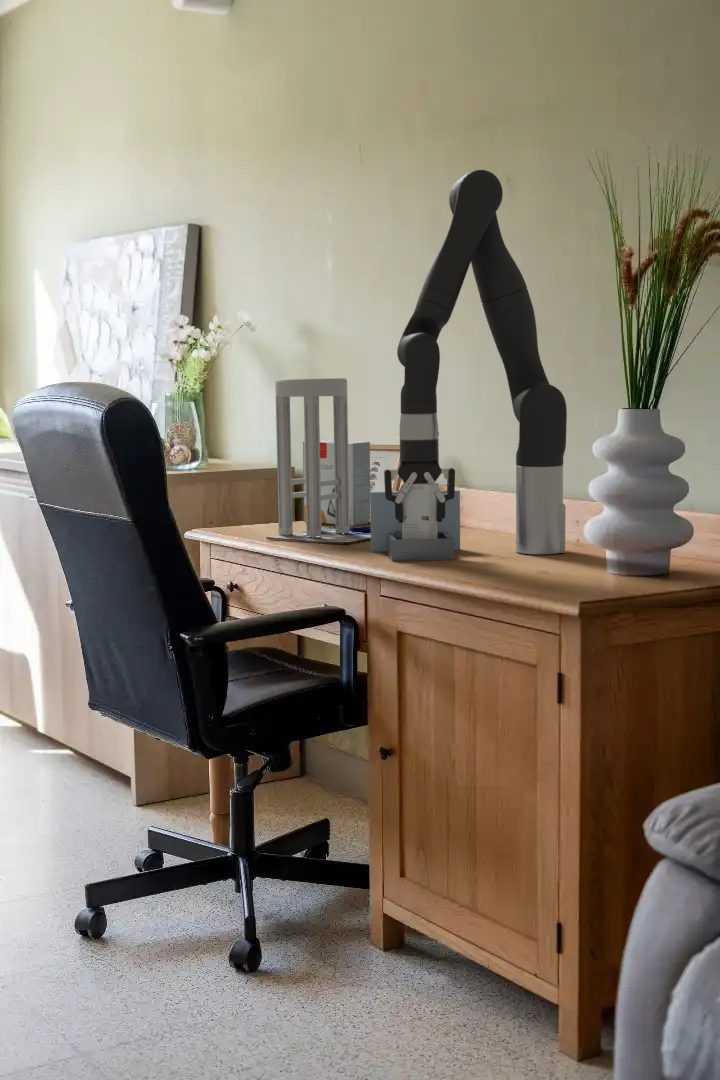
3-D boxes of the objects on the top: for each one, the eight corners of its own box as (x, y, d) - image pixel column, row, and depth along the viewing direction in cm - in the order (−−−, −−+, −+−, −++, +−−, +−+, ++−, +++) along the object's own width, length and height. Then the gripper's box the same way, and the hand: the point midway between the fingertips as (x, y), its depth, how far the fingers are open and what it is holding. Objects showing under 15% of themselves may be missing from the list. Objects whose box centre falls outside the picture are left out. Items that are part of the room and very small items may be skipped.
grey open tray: (445, 550, 264) (445, 529, 263) (454, 559, 249) (454, 537, 249) (386, 551, 263) (386, 530, 262) (391, 561, 249) (391, 539, 248)
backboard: (459, 548, 265) (458, 490, 264) (460, 549, 264) (459, 490, 262) (371, 550, 264) (370, 491, 263) (371, 551, 263) (370, 492, 261)
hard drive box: (302, 522, 319) (300, 441, 316) (322, 519, 325) (320, 439, 322) (353, 526, 309) (351, 442, 307) (372, 523, 315) (371, 440, 313)
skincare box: (401, 545, 254) (400, 483, 253) (411, 542, 258) (410, 481, 257) (429, 546, 251) (428, 484, 250) (439, 544, 255) (438, 482, 254)
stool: (362, 533, 295) (360, 377, 291) (313, 539, 284) (310, 378, 280) (314, 528, 306) (311, 378, 301) (265, 534, 294) (262, 379, 290)
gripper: (453, 435, 256) (454, 519, 258) (380, 437, 256) (382, 520, 258) (458, 437, 249) (459, 523, 251) (383, 438, 248) (384, 524, 250)
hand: (420, 521), depth 254 cm, fingers closed on skincare box, 7 cm apart
